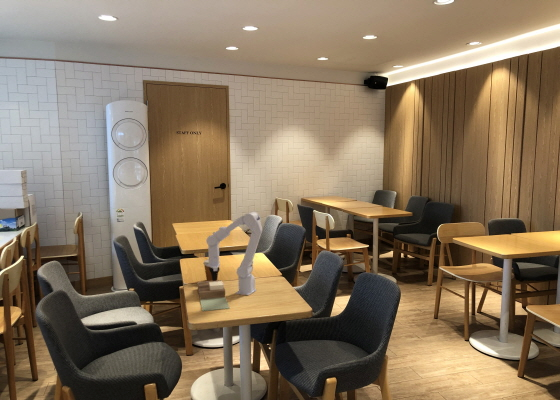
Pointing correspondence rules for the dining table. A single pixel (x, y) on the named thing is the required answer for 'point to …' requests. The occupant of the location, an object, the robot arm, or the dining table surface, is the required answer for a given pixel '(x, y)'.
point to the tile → (216, 285)
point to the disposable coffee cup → (208, 271)
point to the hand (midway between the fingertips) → (214, 280)
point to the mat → (214, 304)
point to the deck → (209, 291)
